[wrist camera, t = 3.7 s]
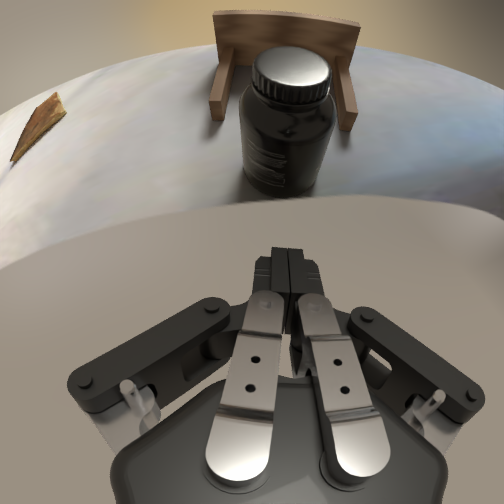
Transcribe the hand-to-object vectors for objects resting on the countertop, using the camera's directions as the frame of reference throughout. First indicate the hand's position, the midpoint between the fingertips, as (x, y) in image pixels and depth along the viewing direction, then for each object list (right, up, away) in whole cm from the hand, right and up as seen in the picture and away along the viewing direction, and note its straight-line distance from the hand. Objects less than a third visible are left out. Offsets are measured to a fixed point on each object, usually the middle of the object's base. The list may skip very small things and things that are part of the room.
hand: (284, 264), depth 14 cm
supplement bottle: (+1, +8, +12) cm, 14 cm away
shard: (-31, +18, +15) cm, 39 cm away
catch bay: (+2, +19, +14) cm, 23 cm away
